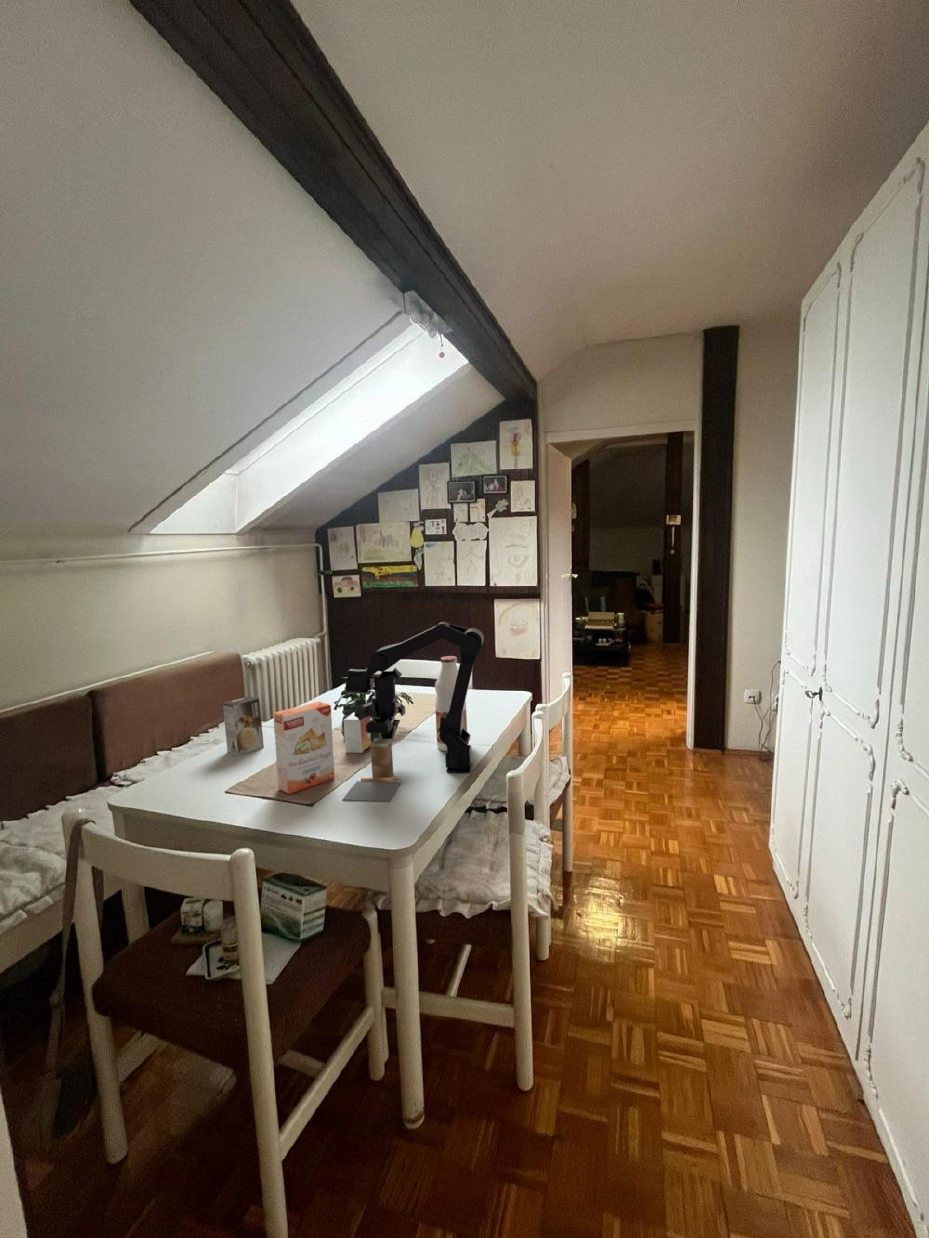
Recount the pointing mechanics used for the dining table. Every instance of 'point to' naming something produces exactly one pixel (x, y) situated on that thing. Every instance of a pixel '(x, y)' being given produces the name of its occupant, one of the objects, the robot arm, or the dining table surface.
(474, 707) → the dining table surface
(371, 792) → the mat
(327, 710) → the cracker box
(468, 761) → the robot arm
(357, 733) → the small box
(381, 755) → the walnut block
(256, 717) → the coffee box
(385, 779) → the kerb
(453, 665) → the fruit juice
